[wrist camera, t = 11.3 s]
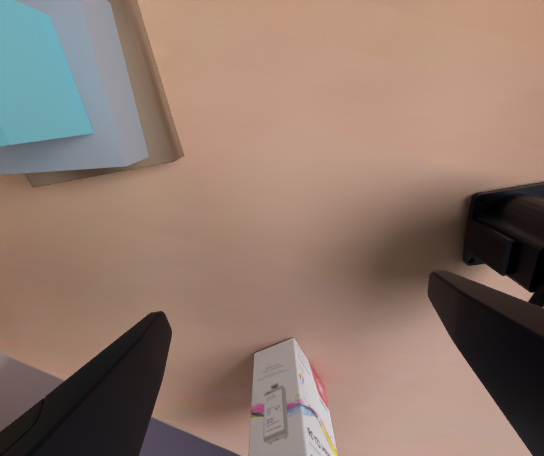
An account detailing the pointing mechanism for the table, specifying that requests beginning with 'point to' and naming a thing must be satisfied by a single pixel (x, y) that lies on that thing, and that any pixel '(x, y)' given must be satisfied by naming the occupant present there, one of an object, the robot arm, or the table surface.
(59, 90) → the teal cube
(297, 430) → the ink cartridge box
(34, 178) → the tan flat square block
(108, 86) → the grey slab
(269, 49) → the table surface
